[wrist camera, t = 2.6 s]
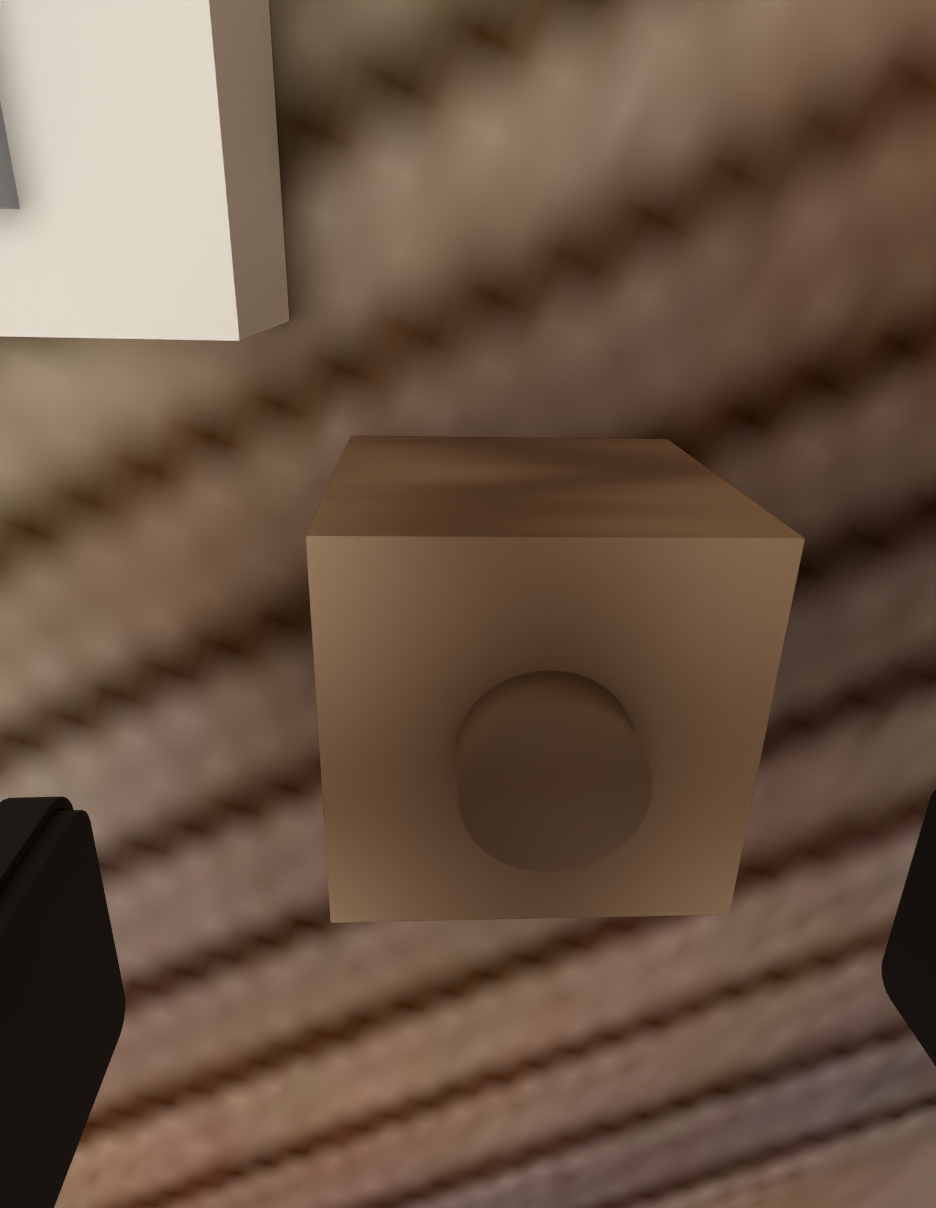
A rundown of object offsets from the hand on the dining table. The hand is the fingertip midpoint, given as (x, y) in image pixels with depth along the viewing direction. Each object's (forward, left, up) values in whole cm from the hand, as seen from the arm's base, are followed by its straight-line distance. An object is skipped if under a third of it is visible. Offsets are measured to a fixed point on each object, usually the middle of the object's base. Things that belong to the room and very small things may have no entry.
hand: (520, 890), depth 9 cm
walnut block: (-1, 0, -8) cm, 8 cm away
